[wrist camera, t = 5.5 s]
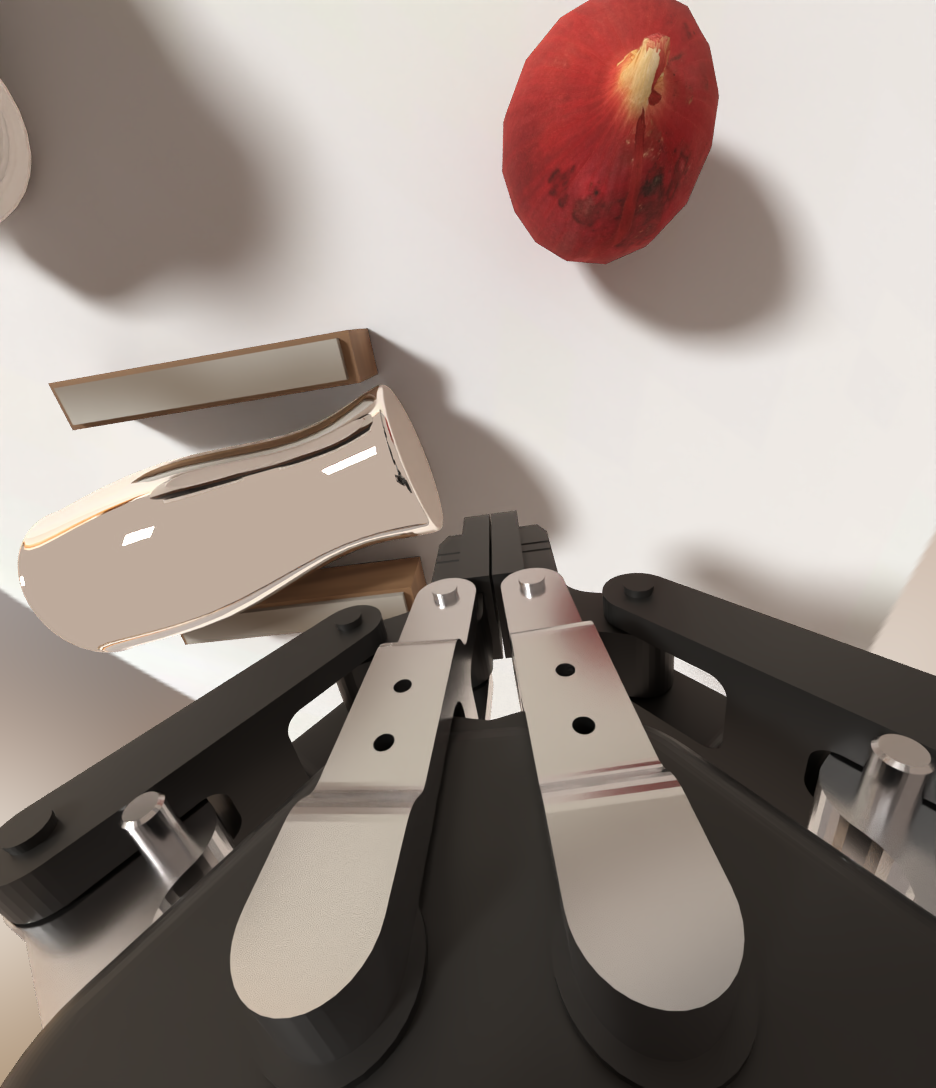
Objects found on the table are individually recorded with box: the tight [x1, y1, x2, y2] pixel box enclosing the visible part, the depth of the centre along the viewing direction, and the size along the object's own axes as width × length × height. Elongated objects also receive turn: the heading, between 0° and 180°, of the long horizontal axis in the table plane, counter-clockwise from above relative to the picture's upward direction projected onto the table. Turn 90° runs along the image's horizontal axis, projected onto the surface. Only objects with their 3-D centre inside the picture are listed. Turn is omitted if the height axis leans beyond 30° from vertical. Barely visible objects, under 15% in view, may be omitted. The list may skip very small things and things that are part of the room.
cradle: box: [49, 328, 427, 644], centre depth 21 cm, size 13×12×3 cm
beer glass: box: [18, 385, 443, 652], centre depth 19 cm, size 7×7×15 cm
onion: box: [502, 0, 719, 264], centre depth 13 cm, size 6×6×8 cm
